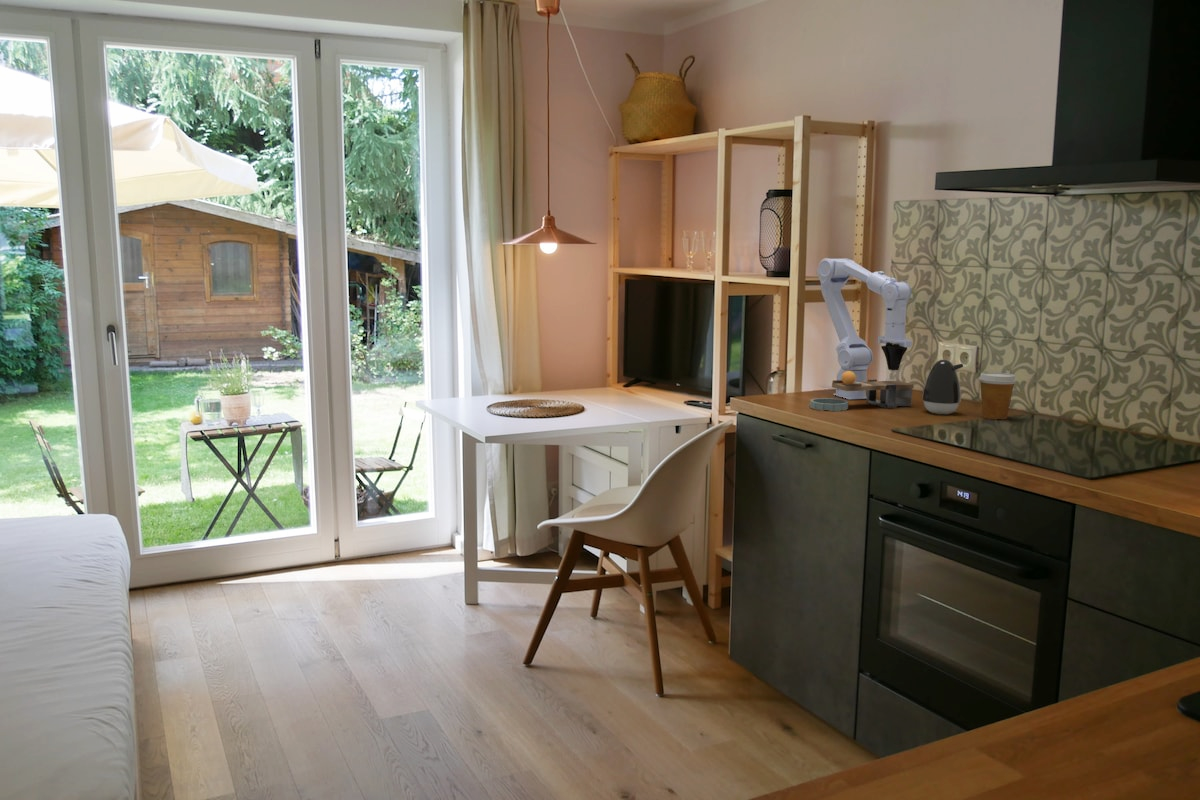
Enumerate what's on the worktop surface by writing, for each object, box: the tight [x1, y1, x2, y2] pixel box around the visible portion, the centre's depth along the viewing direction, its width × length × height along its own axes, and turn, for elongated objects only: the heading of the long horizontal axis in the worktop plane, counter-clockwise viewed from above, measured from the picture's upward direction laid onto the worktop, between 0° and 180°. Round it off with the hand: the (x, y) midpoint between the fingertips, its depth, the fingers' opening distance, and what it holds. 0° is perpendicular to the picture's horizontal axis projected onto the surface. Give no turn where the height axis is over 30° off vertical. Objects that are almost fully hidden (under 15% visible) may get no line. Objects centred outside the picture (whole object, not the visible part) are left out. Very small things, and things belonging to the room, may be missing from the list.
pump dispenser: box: [922, 359, 964, 415], centre depth 275 cm, size 10×10×15 cm
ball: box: [842, 371, 856, 384], centre depth 283 cm, size 4×4×4 cm
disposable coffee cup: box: [978, 371, 1017, 420], centre depth 269 cm, size 10×10×12 cm
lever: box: [831, 379, 914, 404], centre depth 286 cm, size 22×8×6 cm, turn 107°
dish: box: [809, 397, 849, 412], centre depth 283 cm, size 11×11×2 cm
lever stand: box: [866, 378, 912, 410], centre depth 288 cm, size 9×11×7 cm
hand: (893, 369), depth 288 cm, fingers closed
